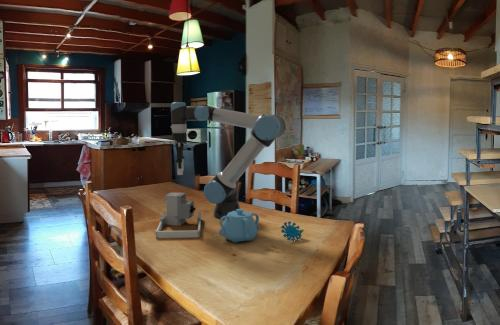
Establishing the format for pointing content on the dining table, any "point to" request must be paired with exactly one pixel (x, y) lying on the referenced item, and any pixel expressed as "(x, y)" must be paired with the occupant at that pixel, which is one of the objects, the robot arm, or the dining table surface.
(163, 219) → the dark gray open bay
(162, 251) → the dining table surface
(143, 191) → the dining table surface
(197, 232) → the parts bay
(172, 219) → the circuit breaker
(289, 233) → the teal spiky ornament
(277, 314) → the dining table surface
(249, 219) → the decorative pot
